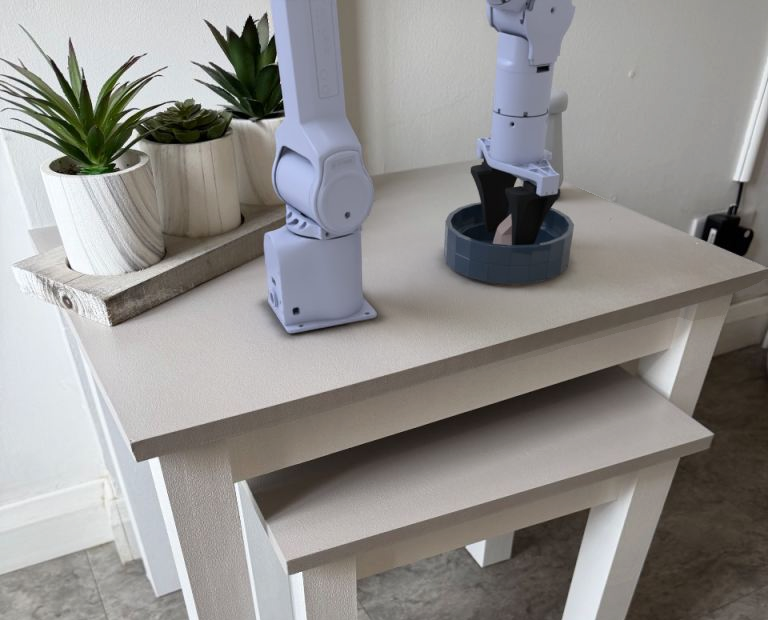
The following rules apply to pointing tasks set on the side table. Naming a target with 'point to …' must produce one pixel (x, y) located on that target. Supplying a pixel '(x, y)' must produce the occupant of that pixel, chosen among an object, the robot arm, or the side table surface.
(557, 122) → the salt shaker
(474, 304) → the side table surface
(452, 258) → the bowl
